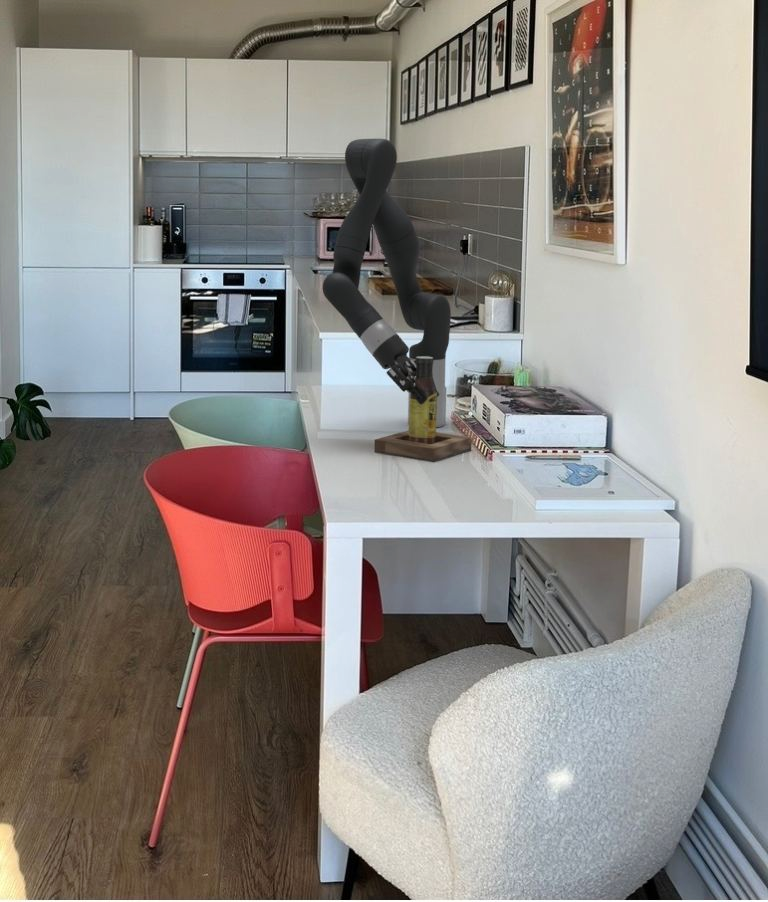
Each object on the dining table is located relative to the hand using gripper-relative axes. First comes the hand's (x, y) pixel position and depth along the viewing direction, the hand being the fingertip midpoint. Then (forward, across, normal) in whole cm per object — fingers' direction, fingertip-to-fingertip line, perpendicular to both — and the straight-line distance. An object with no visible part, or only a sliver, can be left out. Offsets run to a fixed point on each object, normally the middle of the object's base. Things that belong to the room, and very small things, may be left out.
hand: (430, 399), depth 274 cm
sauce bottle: (+6, 0, +9) cm, 11 cm away
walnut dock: (+8, 0, +10) cm, 12 cm away
